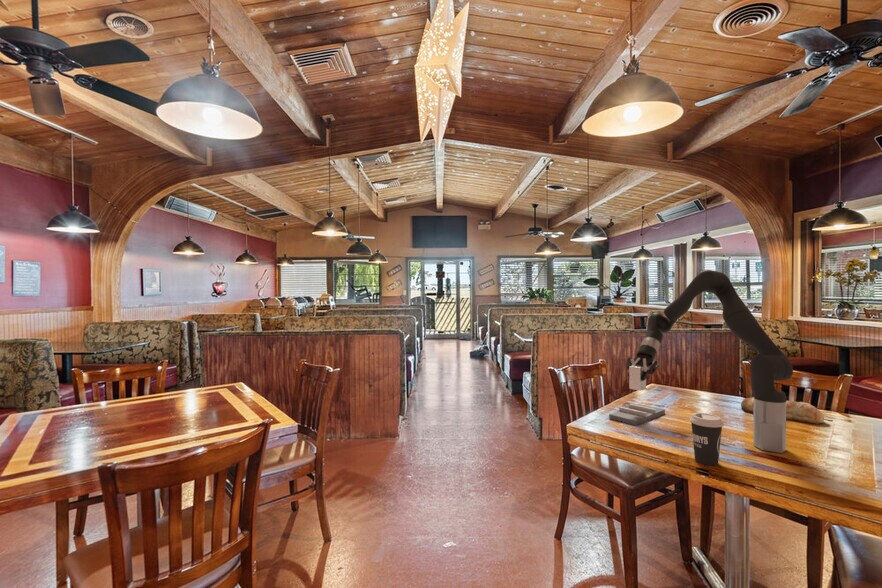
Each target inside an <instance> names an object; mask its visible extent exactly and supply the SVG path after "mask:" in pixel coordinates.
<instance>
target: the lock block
mask: <svg viewBox="0 0 882 588" xmlns="http://www.w3.org/2000/svg"><path fill="white" fill-rule="evenodd" d="M644 368H645V367H643V366H639V365H633V366H629V371H628V372H629V378H628V380H629V382H628V383H629V384H628V385H629V387H628V388H629V389H630V390H636V391H640V392H641V391H644V390H647V378H646V379H645V380H644V381H641V379H640V378H641V375H642V373H643V372H644Z"/></svg>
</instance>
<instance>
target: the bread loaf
mask: <svg viewBox="0 0 882 588" xmlns="http://www.w3.org/2000/svg"><path fill="white" fill-rule="evenodd" d="M740 407H741V410H742V411H743V410H744V411H743V412H747V413H749V412H750V414H754V396H753V397H752V396H751V397H746V398H745V399H742V401H741V404H740ZM788 419H792V420H791V421H795V420H796V421H795V422H800V421H802V422H801V423H805V422H807V423H806V424H812V423H818V424H817V425H821V424H823V423H824V422H825V421H828V422H830V423H831V422H833V421H834V420H832V419H828V418H827V419H826V418H825V415H824V414H823V412H822V411H820V410H819V409H818V408H817V407H815V406H814V405H812V404H811V403H808V402H803V401H793V400H786V420H788Z"/></svg>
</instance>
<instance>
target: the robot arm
mask: <svg viewBox="0 0 882 588" xmlns="http://www.w3.org/2000/svg"><path fill="white" fill-rule="evenodd" d="M705 292H707V293H711V294H714V295H715V297H716V298H717V299H718V300H719V302H720V303H721V306H722V318H723V321H724V323H725V324H726V325H727V328H728V329H729V330H730V331H731V333H732V334H733V335H734V336H735V337H737V338H738V339H739V340H741V341H742V342H744V343H746V344H748V345H749V346H750V347H752V349H753V350H755V351H756V352H757V353H758V354H757V355H754V356H753V357H752V358H751V361H750V363H749V364H750V365H749V372H750V373H749V375H750V388H751V391H752V393H753V397H754V413H753V420H752V421H753V425H752V426H753V428H752V429H753V436H752V437H753V446H754V447H756V448H758V449H759V450H761V451H767V452H772V453H780V454H784V452H786V451H787V419H786V401H787V394H786V393H785V392H784V391H781V390H778V389H777V388H776V387H775V381H786V380H789V379H791V377H792V376H793V373H794V367H793V365H792V363H791V360H790V359H789V358H788V357H787V356H786V355H785V353H784V352H783V351H782V350H781V349H780V348H779V347H778V345H776V344H775V342H773V340H772V339H771V338H770V337H769V335H768V333H767V332H766V331H765V330H764V329H763V328H762V325H760V324H759V322H758V320H757V319H756V316H754V315H753V313H752V312H751V311H750V309H749V308H748V306H747V305H746V304H745V303H744V301H743V300H742V298H741V297H740V296H739V294H738V293H737V290H736V289H735V288H734V286H733V284H732V282H731V280H730V278H729V277H728V276H727V274H725V273H723V272H721V271H717V270H711V269H704V270H702V271H700V272H699V273H697V275H695V277H694V278H693V279H692V280H691V282H690V283H689V284H688V285H687V286H686V287H685V289H684V290H683V291H682V292H681V293H680V295H679V296H678V297H676V298H675V300H673V301H672V302H671V303H670V304H669V305H667V306H666V307H665V308H664V310H663V314H664V315H663V314H662V313H660V312H658V311H657V312H653V313H651V314H650V315H649V317H648V319H647V330H646V334H645V336H644V338H643V339H642V341H641V343H640V345H639V348H638V350H637V352H636V356H635V357H633V358H631V357H630V356H629V357H627V361H626V366H625V367H626V369H627V370H628V373H627V377H628V379H629V366H633V365H639V366H643V367H645V368H644V372H643V373H642V375H641V378H640V379H641V381H644V380H645V379H646V380H647V377H648V375H653V374H654V373H655V372H656V370H657V369H658V368H659V367H660V363H659V362H658V361H657V360H655V359H656V357H657V354H658V353H659V349H660V346H661V343H662V341H663V338H664V333H669V332H670V331H671V330H672V328H673V326H674V324H675V323H676V322H677V321H678V320H679V318H682V316H683V315H685V314H686V313H687V312H689V310H690V308H691V306H692V304H693V302H694V300H695V298H697V296H700V295H701V294H702V293H705Z"/></svg>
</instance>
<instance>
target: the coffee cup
mask: <svg viewBox="0 0 882 588" xmlns="http://www.w3.org/2000/svg"><path fill="white" fill-rule="evenodd" d="M689 422H690V423H691V429H692V430H691V431H692V442H693V443H692V444H693V452H694V460H695V462H696V463H698V464H701V465H704V466H710V467H712V466H713V467H714V466H718V465H719V461H720V460H719V459H720V450H721V449H720V448H721V442H722V441H721V439H722V432H723V431H722V430H723V427H725V426H724V425H725V424H724V421H723V420H722V418H721V417H720V416H719V415H717V414H714V413H713V414H711V413H707V412H694V413H692V415H691V416H690V419H689Z"/></svg>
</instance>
